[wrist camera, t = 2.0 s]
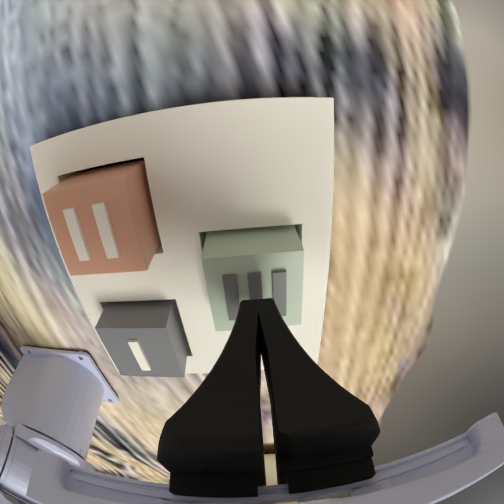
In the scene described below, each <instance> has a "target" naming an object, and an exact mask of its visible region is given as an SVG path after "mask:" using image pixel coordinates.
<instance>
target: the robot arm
mask: <svg viewBox="0 0 504 504" xmlns="http://www.w3.org/2000/svg"><path fill="white" fill-rule="evenodd" d="M20 350H21V352H22V353H23V357H22V359H21V360H20V362H19V364H18V366H17V368H16V370H15V372H14V374H13V376H12V378H11V380H10V382H9V384H8V386H7V388H6V390H5V392H4V395H3V399H2V413H3V417H4V420H5V422H6V424H5V425H1V426H0V487H1V488H2V489H1V488H0V504H27V503H25V502H23V501H21V500H19V499H17V498H16V497H18V498H20V499H22V500H24V501H26V502H28V503H30V504H276V503H286V502H295V501H302V500H309V499H315V498H322V497H327V496H332V495H337V494H342V493H346V492H350V493H349V497H345V498H339V499H337V498H334V499H333V498H332V499H323V500H315V501H308V502H301V503H293V504H435V503H437V502H439V501H441V500H443V499H446V498H448V497H450V496H451V495H454V494H455V493H457V492H459V491H461V490H463V489H465V488H467V487H468V486H470V485H472V484H474V483H475V482H477V481H479V480H480V479H482V478H484V477H485V476H487V475H488V474H490V473H491V472H493V471H495V470H496V469H497V468H499V467H500V466H502V465H503V464H504V427H503V425H502V423H501V420H500V418H499V416H498V414H497V413H496V412H495V413H493V414H491V415H489V416H487V417H486V418H484V419H482V420H480V421H478V422H477V423H475V424H474V425H473V426H472V427H471V428H470V429H469V430H468V431H467V432H466V433H464V434H462V435H460V436H458V437H456V438H454V439H451V440H449V441H447V442H444V443H442V444H440V445H437V446H435V447H432V448H430V449H427V450H425V451H422V452H420V453H417V454H414V455H411V456H408V457H406V458H403V459H400V460H396V461H394V462H390V463H387V464H384V465H380V466H376V467H374V465H373V461H372V456H373V450H372V447H371V445H372V444H373V443H374V441H375V440H376V438H377V437H378V435H379V433H380V429H379V424H378V422H377V420H376V418H375V416H374V414H373V412H372V410H371V408H370V407H369V405H367V404H366V403H364V402H363V401H361V400H360V399H358V398H357V397H355V396H354V395H352V394H351V393H349V392H348V391H347V390H345V389H344V388H343V387H342V386H340V385H339V384H338V383H337V382H336V381H334V380H333V379H332V378H331V377H330V376H329V375H328V374H326V373H325V372H324V371H323V370H322V369H321V368H320V367H319V366H318V365H317V364H316V363H315V362H314V361H313V359H312V358H311V357H310V356H309V355H308V354H307V353H306V351H305V350H304V349H303V348H302V346H301V345H300V344H299V342H298V341H297V340H296V338H295V337H294V336H293V334H292V333H291V331H290V329H289V328H288V326H287V325H286V323H285V321H284V320H283V318H282V316H281V314H280V312H279V310H278V308H277V306H276V304H275V301H274V299H272V298H266V299H253V300H242V301H241V302H240V306H239V310H238V314H237V317H236V320H235V323H234V326H233V329H232V331H231V334H230V336H229V338H228V340H227V342H226V344H225V347H224V349H223V351H222V353H221V354H220V356H219V358H218V360H217V361H216V363H215V365H214V366H213V368H212V370H211V371H210V373H209V374H208V375H207V377H206V378H205V380H204V381H203V382H202V384H201V385H200V386H199V388H198V389H197V390H196V391H195V392H194V394H193V395H192V396H191V397H190V398H189V399H188V400H187V402H186V403H185V404H184V405H183V406H182V407H181V408H180V409H179V410H178V411H177V412H176V413H175V414H174V415H173V416H171V417H170V418H169V419H168V420H167V421H166V423H165V425H164V428H163V430H162V433H161V436H160V440H159V445H158V454H157V459H158V461H159V462H160V463H161V464H162V465H163V466H164V467H165V468H166V469H167V470H168V471H169V472H170V484H161V483H153V482H146V481H140V480H133V479H128V478H122V477H117V476H112V475H108V474H103V473H99V472H95V471H91V466H92V464H90V463H88V462H87V461H86V458H87V454H88V449H89V445H90V441H91V438H92V434H93V430H94V426H95V423H96V419H97V415H98V412H99V409H100V405H101V402H102V401H103V402H111V403H118V402H119V398H118V397H117V395H116V394H115V393H114V391H113V390H112V388H111V387H110V385H109V384H108V383H107V381H106V380H105V378H104V377H103V375H102V374H101V372H100V371H99V369H98V367H97V366H96V364H95V363H94V361H93V360H92V358H91V356H90V355H89V354H88V353H86V352H75V351H64V350H54V349H45V348H37V347H29V346H21V348H20ZM261 355H262V361H263V366H264V371H265V376H266V382H267V387H268V392H269V397H270V404H271V414H272V425H273V436H274V448H275V460H276V472H277V484H278V485H269V486H266V473H265V461H264V448H263V435H262V422H261V408H260V385H261ZM3 489H4V490H6V491H7V492H9V493H11V494H13V495H15V496H16V497H14V496H12V495H10V494H8V493H7V492H5V491H4V490H3ZM351 491H352V492H351Z"/></svg>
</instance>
